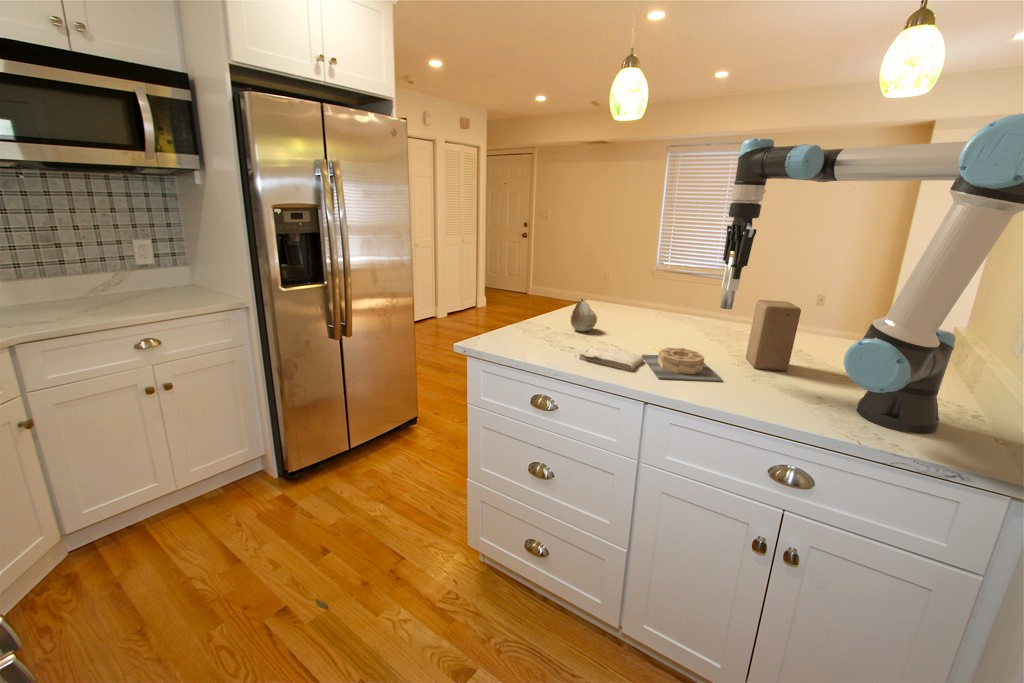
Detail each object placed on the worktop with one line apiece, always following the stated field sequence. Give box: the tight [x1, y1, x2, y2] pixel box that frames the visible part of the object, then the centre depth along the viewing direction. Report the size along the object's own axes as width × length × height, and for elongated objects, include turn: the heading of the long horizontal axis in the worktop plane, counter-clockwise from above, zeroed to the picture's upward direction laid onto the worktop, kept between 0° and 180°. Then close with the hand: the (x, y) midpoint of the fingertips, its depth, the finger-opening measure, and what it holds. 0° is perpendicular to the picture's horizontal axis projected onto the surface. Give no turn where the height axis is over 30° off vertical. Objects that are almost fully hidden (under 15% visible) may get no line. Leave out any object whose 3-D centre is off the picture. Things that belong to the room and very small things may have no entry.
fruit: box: [570, 298, 598, 333], centre depth 175 cm, size 10×9×12 cm
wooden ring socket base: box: [641, 347, 724, 383], centre depth 139 cm, size 20×18×5 cm
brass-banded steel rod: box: [719, 251, 736, 310], centre depth 129 cm, size 3×3×16 cm
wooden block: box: [745, 299, 802, 372], centre depth 142 cm, size 10×10×20 cm
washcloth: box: [578, 345, 645, 372], centre depth 144 cm, size 12×18×3 cm, turn 56°
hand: (729, 288), depth 129 cm, fingers closed on brass-banded steel rod, 3 cm apart
